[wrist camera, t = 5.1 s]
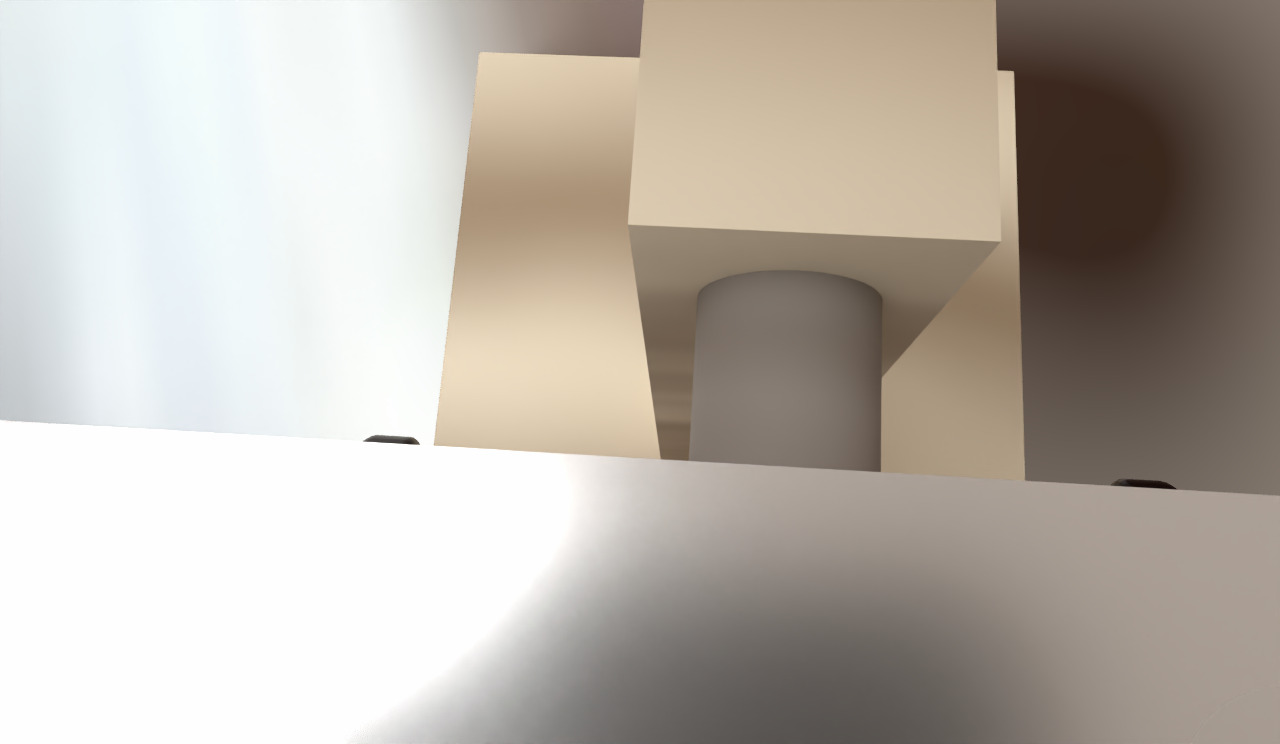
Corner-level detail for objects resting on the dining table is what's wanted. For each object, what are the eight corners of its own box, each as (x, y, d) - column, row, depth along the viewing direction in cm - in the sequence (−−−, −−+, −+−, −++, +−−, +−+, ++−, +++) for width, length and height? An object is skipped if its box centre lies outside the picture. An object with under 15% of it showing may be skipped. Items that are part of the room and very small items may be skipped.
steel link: (922, 709, 14) (2035, 1150, 3) (517, 680, 14) (-157, 951, 3) (921, 597, 15) (1886, 531, 3) (526, 571, 15) (-28, 416, 3)
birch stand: (1006, 682, 16) (1940, 903, 4) (429, 641, 17) (-210, 732, 5) (993, 103, 19) (1556, -802, 7) (491, 85, 20) (175, -783, 7)
